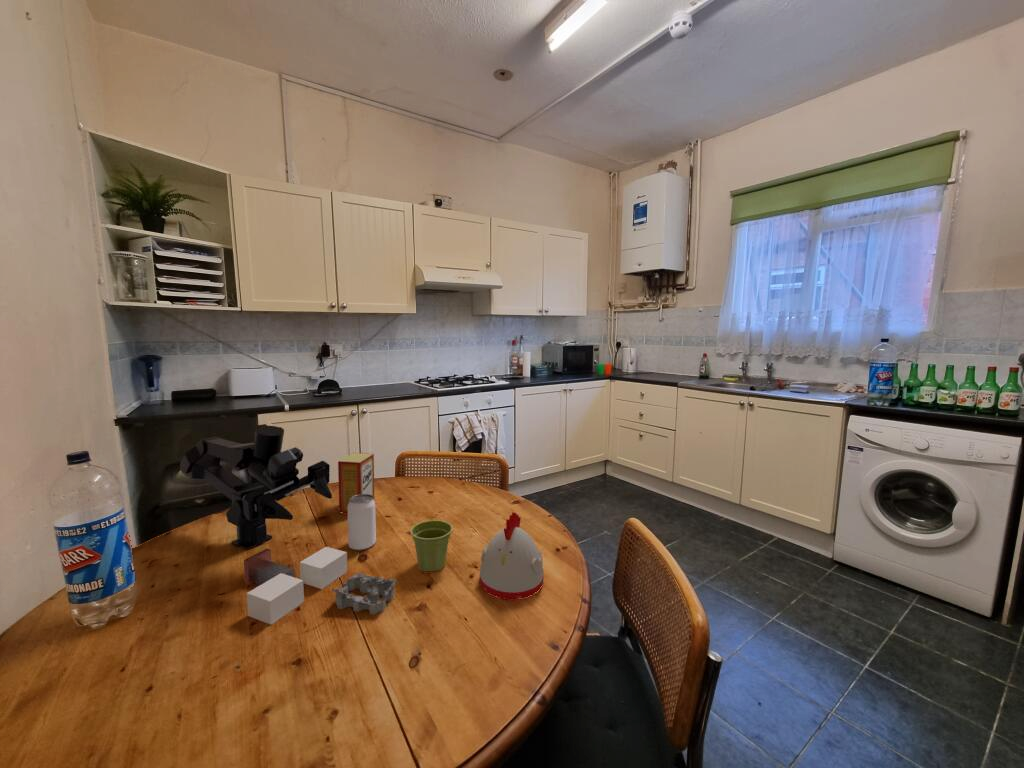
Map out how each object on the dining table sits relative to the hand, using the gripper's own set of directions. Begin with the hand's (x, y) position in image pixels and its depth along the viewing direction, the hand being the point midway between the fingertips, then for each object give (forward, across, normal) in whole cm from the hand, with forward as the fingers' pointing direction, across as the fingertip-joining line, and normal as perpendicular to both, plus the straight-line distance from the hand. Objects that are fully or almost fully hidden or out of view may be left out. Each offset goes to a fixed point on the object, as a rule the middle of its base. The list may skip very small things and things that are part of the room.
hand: (312, 506), depth 88 cm
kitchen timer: (+42, +19, +6) cm, 46 cm away
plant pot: (+24, +14, +11) cm, 30 cm away
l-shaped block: (+1, -10, +14) cm, 17 cm away
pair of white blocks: (+9, -8, +11) cm, 17 cm away
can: (+4, +11, +17) cm, 20 cm away
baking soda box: (-14, +24, +25) cm, 37 cm away
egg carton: (+21, -3, +9) cm, 23 cm away
